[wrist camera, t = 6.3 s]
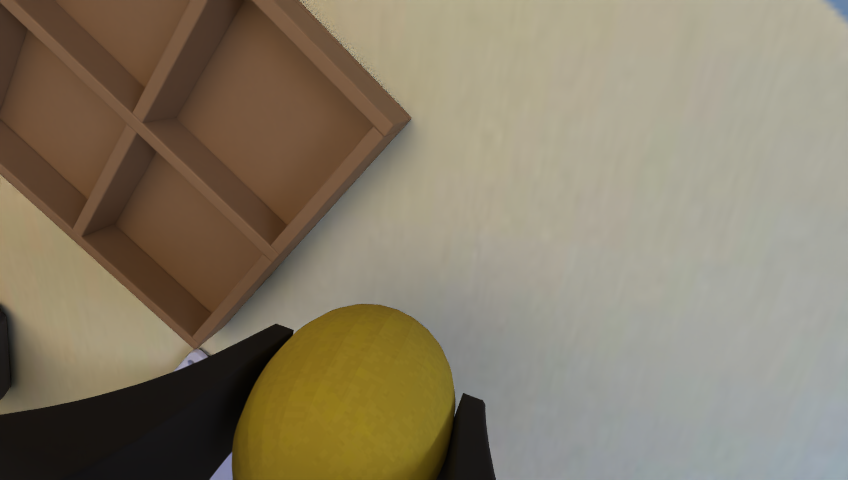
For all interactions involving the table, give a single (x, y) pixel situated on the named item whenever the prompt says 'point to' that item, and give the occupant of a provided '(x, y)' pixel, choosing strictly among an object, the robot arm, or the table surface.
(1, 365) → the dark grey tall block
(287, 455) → the lemon
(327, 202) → the divided wooden tray
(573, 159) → the table surface
